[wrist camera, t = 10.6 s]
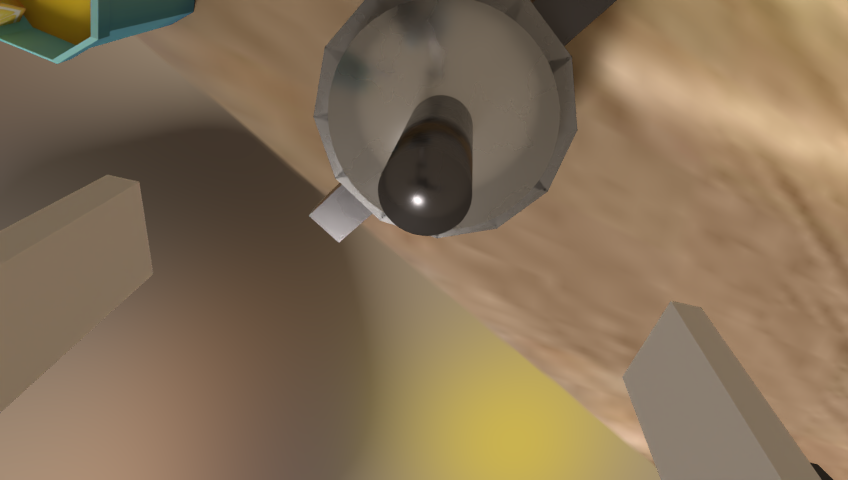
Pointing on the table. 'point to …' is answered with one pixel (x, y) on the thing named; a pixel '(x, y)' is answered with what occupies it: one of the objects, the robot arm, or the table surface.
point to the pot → (548, 26)
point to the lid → (443, 114)
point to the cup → (82, 23)
